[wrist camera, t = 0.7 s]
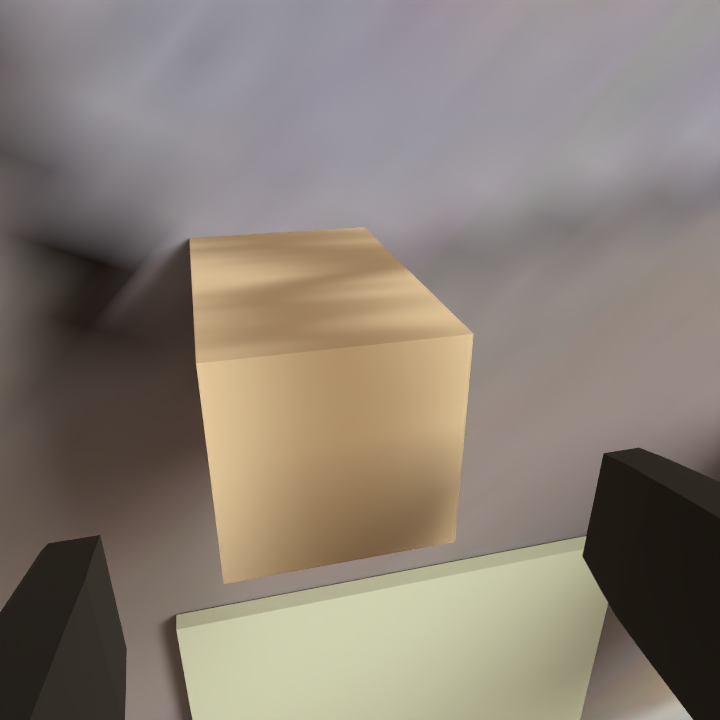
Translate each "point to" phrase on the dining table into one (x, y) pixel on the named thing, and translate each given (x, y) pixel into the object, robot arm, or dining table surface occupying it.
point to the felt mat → (406, 644)
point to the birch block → (325, 400)
